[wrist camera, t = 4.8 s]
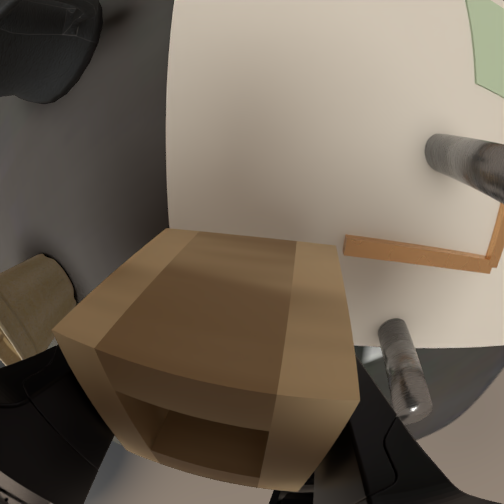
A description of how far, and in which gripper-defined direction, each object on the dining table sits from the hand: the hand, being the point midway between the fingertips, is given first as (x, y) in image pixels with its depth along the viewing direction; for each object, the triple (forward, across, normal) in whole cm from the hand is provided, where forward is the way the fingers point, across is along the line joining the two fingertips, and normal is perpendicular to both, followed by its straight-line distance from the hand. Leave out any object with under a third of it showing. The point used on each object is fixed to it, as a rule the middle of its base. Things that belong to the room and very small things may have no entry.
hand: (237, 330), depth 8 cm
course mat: (+8, -8, -6) cm, 12 cm away
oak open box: (+1, 0, 0) cm, 1 cm away
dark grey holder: (+8, +14, -13) cm, 21 cm away
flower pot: (+8, +19, +7) cm, 22 cm away
